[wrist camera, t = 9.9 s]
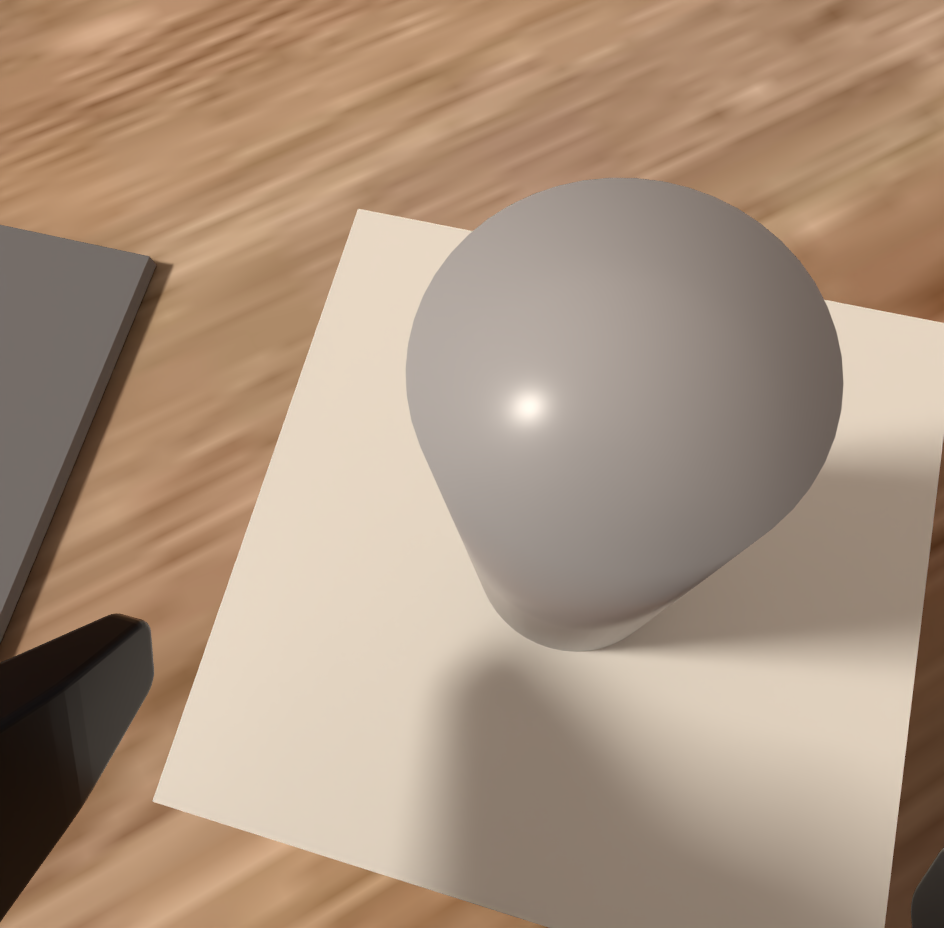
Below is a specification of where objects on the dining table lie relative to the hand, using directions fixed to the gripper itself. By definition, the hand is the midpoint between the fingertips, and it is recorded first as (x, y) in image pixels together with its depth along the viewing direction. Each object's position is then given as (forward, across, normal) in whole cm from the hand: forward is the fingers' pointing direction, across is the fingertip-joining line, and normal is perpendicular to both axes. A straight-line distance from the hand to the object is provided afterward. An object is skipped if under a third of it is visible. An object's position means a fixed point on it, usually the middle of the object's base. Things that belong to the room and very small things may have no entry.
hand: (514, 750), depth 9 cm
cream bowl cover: (+8, 0, +4) cm, 9 cm away
